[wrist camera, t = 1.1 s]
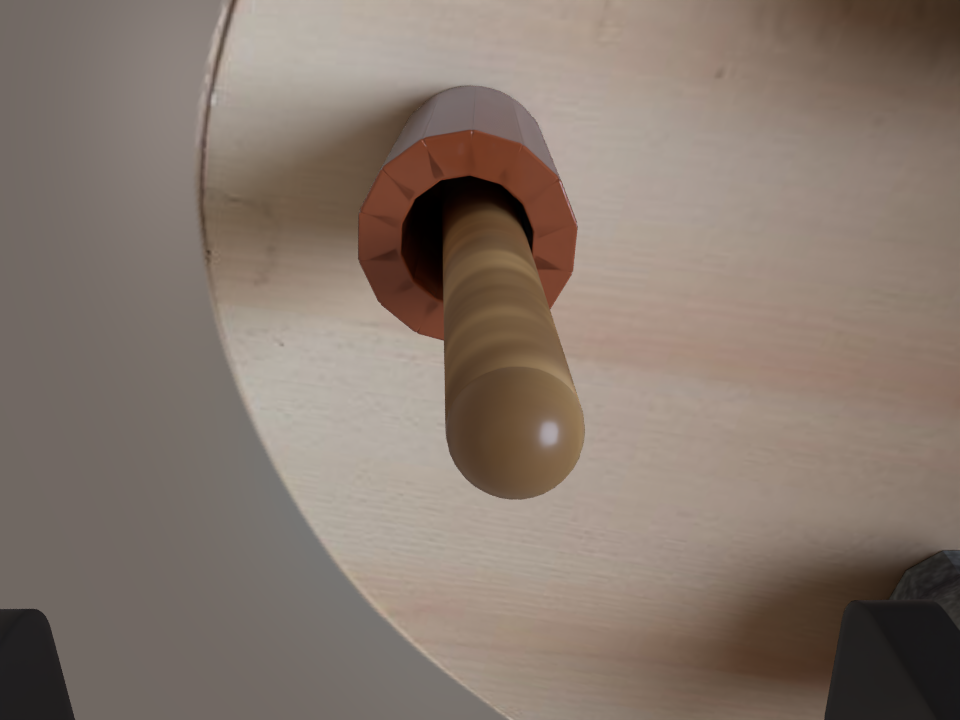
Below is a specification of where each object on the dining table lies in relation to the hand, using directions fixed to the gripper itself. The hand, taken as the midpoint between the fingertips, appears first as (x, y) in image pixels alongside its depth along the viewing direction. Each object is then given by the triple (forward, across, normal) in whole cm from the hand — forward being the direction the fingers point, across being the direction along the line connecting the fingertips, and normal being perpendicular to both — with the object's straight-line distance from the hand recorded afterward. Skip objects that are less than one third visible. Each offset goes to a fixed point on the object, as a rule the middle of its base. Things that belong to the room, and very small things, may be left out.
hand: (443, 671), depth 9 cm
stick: (+28, 0, 0) cm, 28 cm away
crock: (+28, 0, 0) cm, 28 cm away
